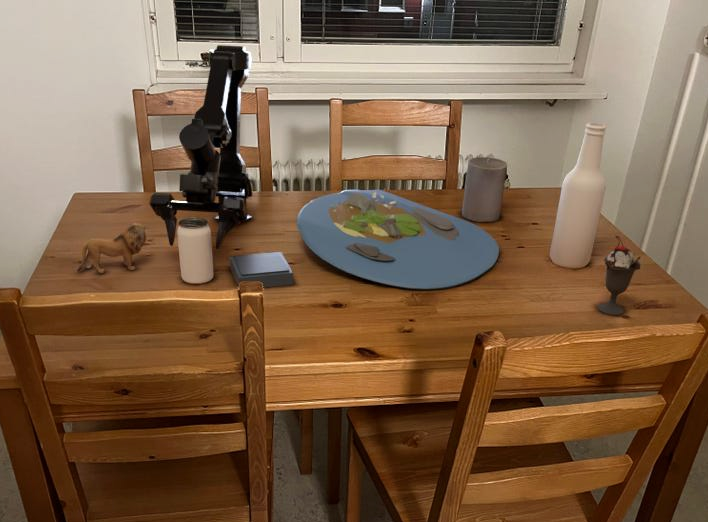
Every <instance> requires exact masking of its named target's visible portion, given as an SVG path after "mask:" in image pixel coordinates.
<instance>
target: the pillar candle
mask: <svg viewBox="0 0 708 522" xmlns="http://www.w3.org/2000/svg"><path fill="white" fill-rule="evenodd" d="M467 161H468V162H467V168H466V175H465V183H464V193H463V198H462V199H463V200H462V208H461V216H462V217H463V218H464V219H466V220H469V221H472V222H476V223H485V222H487V223H490V222H491V223H492V222H496V221H498V220H499V219H500V218H501V211H502V206H503V198H504V191H505V185H506V179H507V178H506V177H507V171H508V163H507V162H506V161H504V160H502V159H499V158H495V157H490V156H479V157H477V156H476V157H472V158H470V159H468V160H467Z"/></svg>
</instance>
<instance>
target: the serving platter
mask: <svg viewBox="0 0 708 522" xmlns="http://www.w3.org/2000/svg"><path fill="white" fill-rule="evenodd" d="M296 227H297V229H298V231H299V233H300V235H301V238H302V239H303V242H304V243H305V244H306V245H307V247H308V248H309V249H310V250H311V251H312V252H313V253H314V254H316V255H317V256H318V258H320V259H322V260H323V261H325V262H326V263H328V264H330V265H331V266H333V267H335V268H336V269H338V270H340V271H343V272H344V273H347V274H349V275H352V276H355V277H357V278H360V279H363V280H367V281H370V282H374V283H377V284H380V285H381V284H382V285H386V286H389V287H390V286H391V287H396V288H401V289H407V290H419V291H431V290H433V291H434V290H443V289H450V288H455V287H459V286H462V285H465V284H467V283H469V282H472V281H474V280H476V279H478V278H480V277H481V276H482V275H483V274H485V273H486V272H488V271H490V270H491V269H492V268H493V266H494V265H495V264H496V262H497V260H498V257H499V254H500V247H499V244H498V242H497V241H496V240H495V239H494V237H493V236H492V235H491V234H490V233H489V232H487V230H484V229H482V227H480V226H478V225H476V224H475V223H472V222H470V221H468V220H465V219H462V218H459V217H456V216H455V215H451V214H449V213H445V212H443V211H439V210H438V209H434V208H432V207H429V206H425V205H423V204H421V203H417V202H415V201H413V200H410V199H407V198H404V197H401V196H399V195H395V194H393V193H390V192H388V191H386V188H385V187H384V188H383V189H368V190H362V189H345V190H342V191H341V192H340V191H339V192H336V193H335V192H334V193H330V194H325V195H322V196H318V197H317V198H315V199H312V200H310V201H309V202H307V203H306V204H305V205H304V206H303V207H301V209H300V210H299V212H298V215H297V218H296Z"/></svg>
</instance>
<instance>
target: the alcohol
mask: <svg viewBox="0 0 708 522" xmlns="http://www.w3.org/2000/svg"><path fill="white" fill-rule="evenodd" d="M585 127H586V128H585V129H584V136H583V140H582V143H581V147H580V151H579V154H578V157H577V161H576V164H575V166H574V168H573V169H571V170H570V171H569V172H568V173H567V174H566V175H565V177H564V179H563V182H562V185H561V190H560V196H559V201H558V207H557V211H556V217H555V222H554V228H553V234H552V240H551V244H550V249H549V258H550V261H551V262H552V263H553V264H555V265H556V266H559V267H562V268H566V269H582V268H584V267H586V266H587V265H588V264H589V263H590V261H591V258H592V253H593V248H594V244H595V239H596V234H597V230H598V225H599V222H600V221H599V220H600V216H601V212H602V206H603V202H604V199H605V198H604V197H605V193H606V188H607V187H606V179H605V177H604V174H603V173H602V171H601V162H602V152H603V144H604V137H605V134H606V129H607V126H606V124H604V123H602V122H596V121H595V122H594V121H591V122H588V123H586V124H585Z"/></svg>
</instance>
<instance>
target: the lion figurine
mask: <svg viewBox="0 0 708 522" xmlns="http://www.w3.org/2000/svg"><path fill="white" fill-rule="evenodd" d="M146 241H147V232H146V229H145V225H143V224H141V223H137V222H134V223H131V224H129V225H127V228H126V230H124V231H123V232H121V233H120V234H119V235H117V237H115V238H112V239H103V238H97V237H96V238H91V239H89V240H87V242H85V244H84V246H83V248H82V255H81V263H80V266H78V268H77V269H76V272H80V271H82V269H83V268H85V269H91V268H92V264H89V262H90V261H91V260H93V267H94V268H95V270H96V271H97V273H99V274H104V273H105V272H106V271H105V269H104V268H100V265H99V263H100V259H101V254H102V255H104V256H106V257H110V258H118V257H122V258H123V264H124V265H125V266H126V267H127V268H128V270H129V271H135V270H136V266H133V255H136V254H139V253H140V252H141V250H142V248H143V247H144V245H145V244H146Z"/></svg>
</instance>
